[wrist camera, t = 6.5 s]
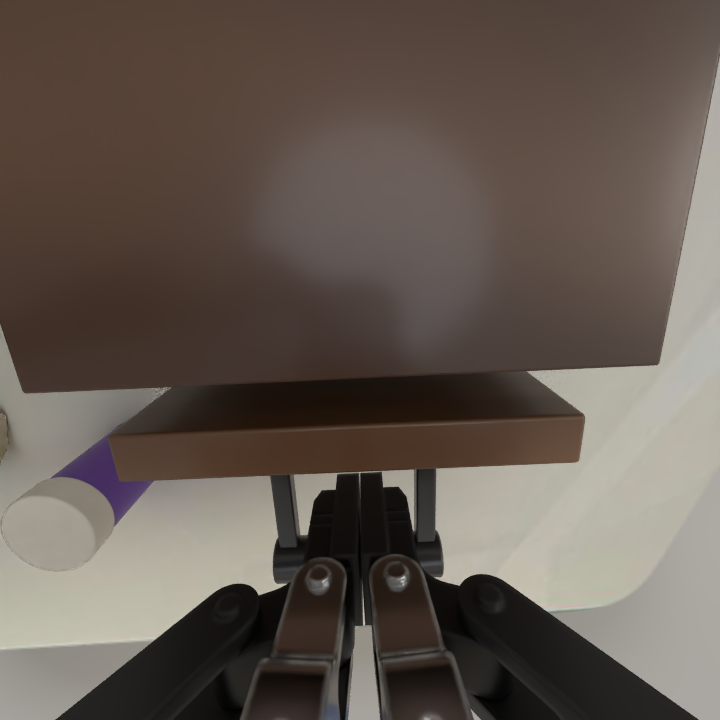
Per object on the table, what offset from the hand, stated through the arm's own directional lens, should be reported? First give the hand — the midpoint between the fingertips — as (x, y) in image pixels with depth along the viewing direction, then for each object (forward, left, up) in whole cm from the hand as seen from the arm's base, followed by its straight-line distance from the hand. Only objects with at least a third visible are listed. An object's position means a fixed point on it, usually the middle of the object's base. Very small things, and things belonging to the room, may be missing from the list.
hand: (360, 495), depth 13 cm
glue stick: (-10, 0, -5) cm, 11 cm away
